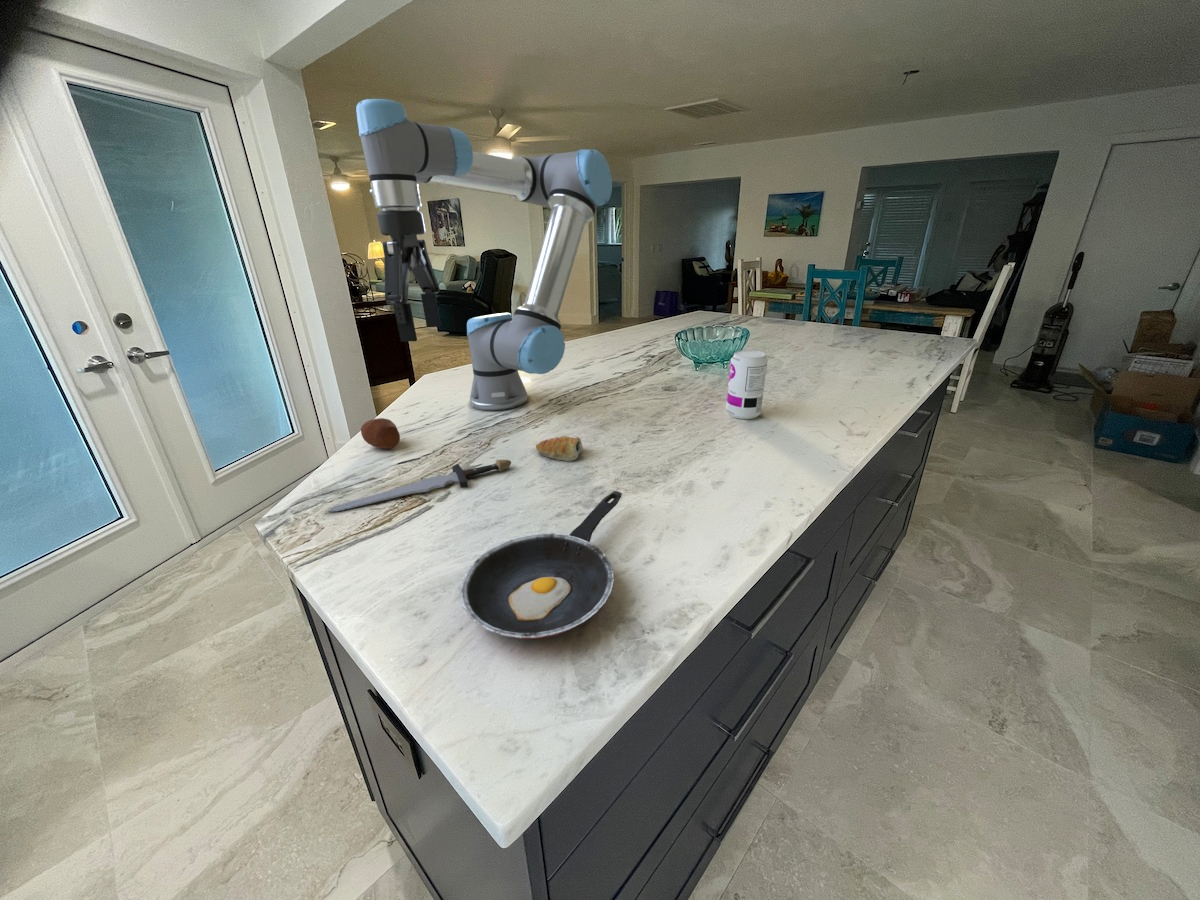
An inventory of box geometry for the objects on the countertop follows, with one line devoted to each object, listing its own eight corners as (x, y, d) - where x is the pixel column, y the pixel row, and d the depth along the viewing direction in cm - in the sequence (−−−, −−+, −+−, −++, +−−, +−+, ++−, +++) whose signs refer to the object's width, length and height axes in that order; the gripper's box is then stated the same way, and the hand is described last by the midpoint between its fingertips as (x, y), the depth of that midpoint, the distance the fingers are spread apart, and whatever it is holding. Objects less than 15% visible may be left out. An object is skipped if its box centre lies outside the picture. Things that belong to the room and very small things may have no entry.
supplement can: (723, 417, 113) (729, 356, 107) (728, 406, 120) (734, 348, 113) (758, 421, 110) (766, 359, 104) (761, 410, 117) (769, 350, 111)
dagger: (517, 472, 90) (516, 462, 89) (334, 530, 74) (330, 519, 73) (501, 458, 96) (499, 449, 95) (327, 510, 80) (324, 499, 79)
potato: (376, 457, 98) (369, 428, 95) (359, 445, 104) (351, 418, 101) (408, 446, 102) (402, 419, 100) (389, 435, 108) (383, 409, 106)
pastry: (532, 459, 95) (530, 442, 94) (542, 445, 101) (541, 429, 100) (576, 462, 93) (575, 445, 92) (584, 448, 99) (583, 432, 98)
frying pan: (430, 621, 56) (424, 597, 55) (570, 497, 81) (568, 478, 80) (563, 684, 48) (560, 658, 46) (672, 524, 73) (673, 504, 72)
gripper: (405, 212, 93) (425, 322, 102) (341, 208, 70) (374, 348, 79) (442, 211, 92) (459, 321, 102) (391, 206, 70) (418, 347, 79)
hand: (422, 333), depth 90 cm, fingers open, 13 cm apart
